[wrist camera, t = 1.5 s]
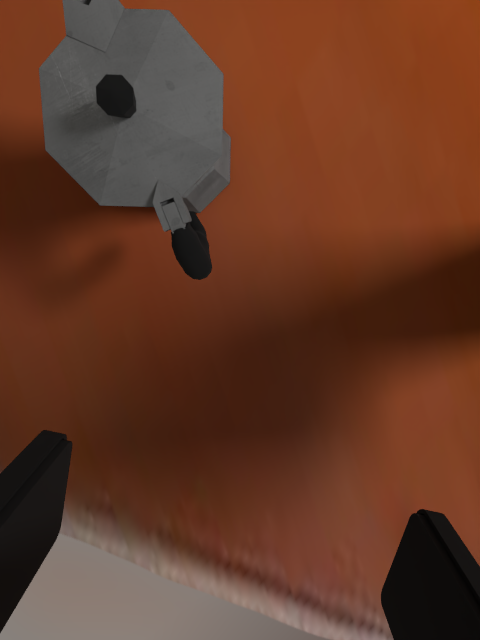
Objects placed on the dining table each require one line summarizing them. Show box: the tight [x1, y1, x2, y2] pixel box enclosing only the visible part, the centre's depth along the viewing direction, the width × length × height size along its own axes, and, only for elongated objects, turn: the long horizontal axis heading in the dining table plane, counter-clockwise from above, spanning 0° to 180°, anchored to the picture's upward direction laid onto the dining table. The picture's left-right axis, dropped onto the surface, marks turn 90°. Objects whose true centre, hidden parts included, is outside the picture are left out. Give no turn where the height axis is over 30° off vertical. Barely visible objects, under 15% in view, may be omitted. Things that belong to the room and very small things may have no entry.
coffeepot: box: [39, 0, 231, 280], centre depth 25 cm, size 15×9×18 cm, turn 21°
